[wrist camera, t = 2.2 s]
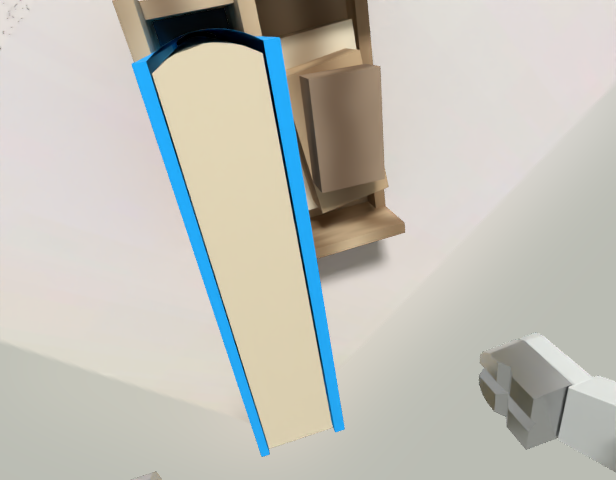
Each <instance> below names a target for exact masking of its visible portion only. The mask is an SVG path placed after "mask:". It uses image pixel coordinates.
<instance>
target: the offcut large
mask: <svg viewBox="0 0 616 480" xmlns="http://www.w3.org/2000/svg"><path fill="white" fill-rule="evenodd" d="M277 37H280V40H281V46H282V53H283V59H284V65H285V70H287V69H290V68H292V67H295V66H298V65H301V64H303V63H306V62H309V61H312V60H314V59H317V58H320V57H322V56H325V55H328V54H331V53H333V52H336V51H339V50H342V49H344V48H349V49H356V43H355V36H354V30H353V23H352V19H341V20H336V21H332V22H328V23H325V24H321V25H317V26H314V27H310V28H306V29H303V30H299V31H295V32H292V33H288V34H284V35H281V36H277ZM301 168H302V174H303V180H304V186H305V192H306V198H307V204H308V210H311V209H314V208H317V207H318V206H317V205H316V204H315V202H314V201H313V199H312V195H311V192H310V189H309V186H308V183H307V180H306V177H305V174H304V171H303V167H302V164H301Z"/></svg>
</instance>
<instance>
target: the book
mask: <svg viewBox="0 0 616 480" xmlns="http://www.w3.org/2000/svg"><path fill="white" fill-rule="evenodd" d="M193 32H207V33H211V34H213V35H215V36H216V39H214V38H210V37H205V36H196V37H191V38H189V39H187V40H185V41H183V42H182V43H181V44H180V45H179V46H178V47H177V43H176V42H177V41H178V40H179V39H180V38H182V37H183V36H185V35H187V34H189V33H192V32H189V33H187V34H184V35H181V36H179V37H177V38H175V39H173V40H171V41H169V42H168V43H166V44H165V45H163V46H162V47H161V48H159V49H158V50H157V51H156V52H154V53H152V54H150V55H148V56H146V57H144V58H142V59H140V60H138V61H136V62H134V63H132V67H133V70H134V73H135V76H136V79H137V82H138V85H139V89H140V92H141V95H142V98H143V101H144V104H145V107H146V110H147V113H148V116H149V119H150V122H151V125H152V128H153V131H154V134H155V137H156V140H157V143H158V146H159V149H160V152H161V155H162V158H163V161H164V164H165V167H166V170H167V173H168V176H169V179H170V182H171V185H172V188H173V191H174V194H175V197H176V200H177V203H178V206H179V209H180V212H181V215H182V218H183V221H184V224H185V227H186V230H187V233H188V236H189V239H190V242H191V245H192V248H193V251H194V254H195V257H196V260H197V263H198V266H199V269H200V272H201V275H202V278H203V281H204V285H205V288H206V291H207V294H208V297H209V300H210V303H211V306H212V309H213V312H214V315H215V318H216V321H217V324H218V327H219V330H220V333H221V336H222V339H223V342H224V345H225V348H226V351H227V354H228V357H229V360H230V363H231V366H232V369H233V372H234V375H235V378H236V381H237V384H238V387H239V390H240V393H241V396H242V399H243V402H244V405H245V408H246V411H247V414H248V417H249V420H250V423H251V426H252V429H253V432H254V435H255V438H256V441H257V444H258V447H259V450H260V453H261V456H262V457H263V456H266V455H269V454H270V453H269V449H270V448H273V447H276V446H279V445H282V444H285V443H288V442H291V441H294V440H297V439H300V438H303V437H306V436H309V435H312V434H315V433H318V432H321V431H324V430H327V429H330V428H334V430H335V432H338V431H341V430H344V429H345V428H344V422H343V416H342V410H341V404H340V398H339V392H338V385H337V379H336V373H335V367H334V361H333V355H332V349H331V343H330V337H329V331H328V325H327V319H326V313H325V307H324V301H323V295H322V289H321V282H320V276H319V270H318V264H317V258H316V252H315V246H314V240H313V234H312V228H311V222H310V216H309V210H308V204H307V198H306V192H305V186H304V180H303V174H302V168H301V161H300V155H299V149H298V143H297V137H296V131H295V125H294V119H293V113H292V107H291V101H290V95H289V89H288V83H287V77H286V71H285V65H284V59H283V53H282V46H281V40H280V37H263V36H253V35H250V34H247V33H244V32H240V31H236V30H231V29H203V30H197V31H193ZM332 425H333V427H332ZM268 446H269V447H268Z"/></svg>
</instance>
